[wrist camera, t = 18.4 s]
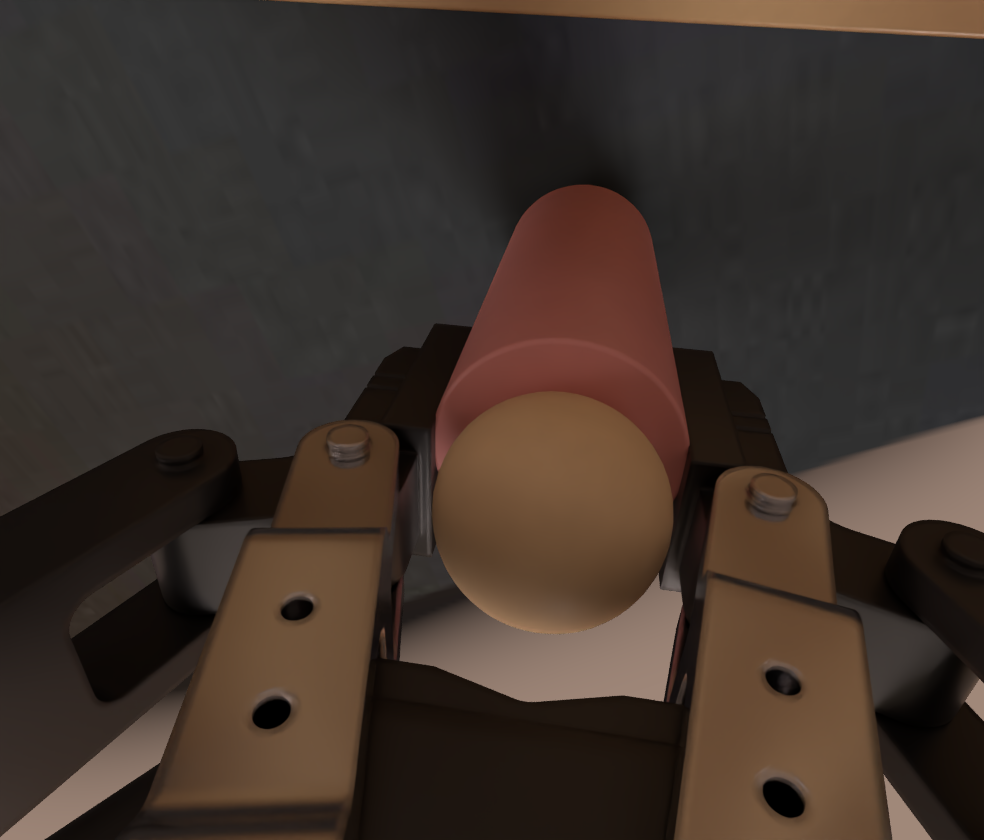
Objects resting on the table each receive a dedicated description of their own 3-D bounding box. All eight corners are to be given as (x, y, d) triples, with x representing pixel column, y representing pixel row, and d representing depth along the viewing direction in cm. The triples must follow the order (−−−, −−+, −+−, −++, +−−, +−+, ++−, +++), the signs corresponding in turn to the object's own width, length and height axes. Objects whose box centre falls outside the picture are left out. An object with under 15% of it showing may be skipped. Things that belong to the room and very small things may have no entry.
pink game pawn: (513, 178, 15) (367, 435, 6) (664, 189, 15) (756, 482, 6) (506, 316, 17) (383, 681, 8) (640, 330, 17) (680, 727, 7)
